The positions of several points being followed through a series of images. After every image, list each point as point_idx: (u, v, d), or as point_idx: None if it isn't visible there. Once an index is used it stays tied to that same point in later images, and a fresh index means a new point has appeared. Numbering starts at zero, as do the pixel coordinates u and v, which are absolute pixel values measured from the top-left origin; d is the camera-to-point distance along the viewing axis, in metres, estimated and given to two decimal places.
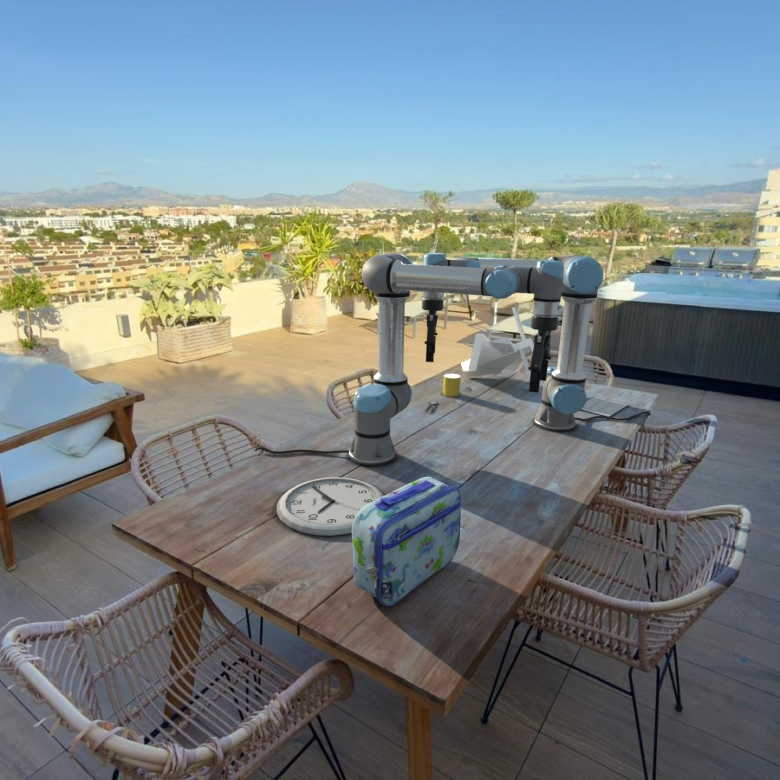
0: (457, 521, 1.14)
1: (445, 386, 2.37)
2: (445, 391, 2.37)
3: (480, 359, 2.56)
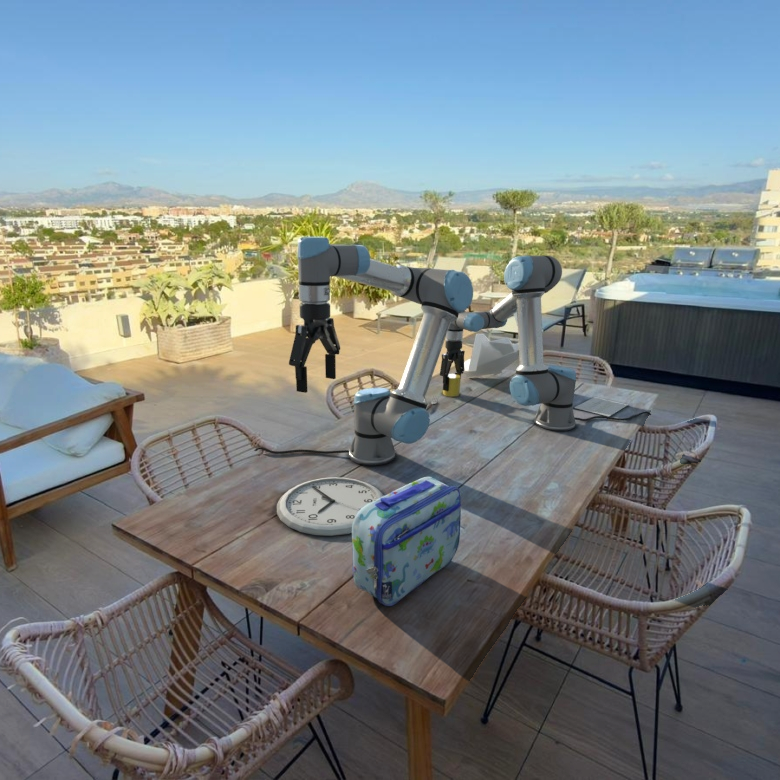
0: (457, 521, 1.14)
1: None
2: (445, 391, 2.37)
3: (480, 359, 2.56)
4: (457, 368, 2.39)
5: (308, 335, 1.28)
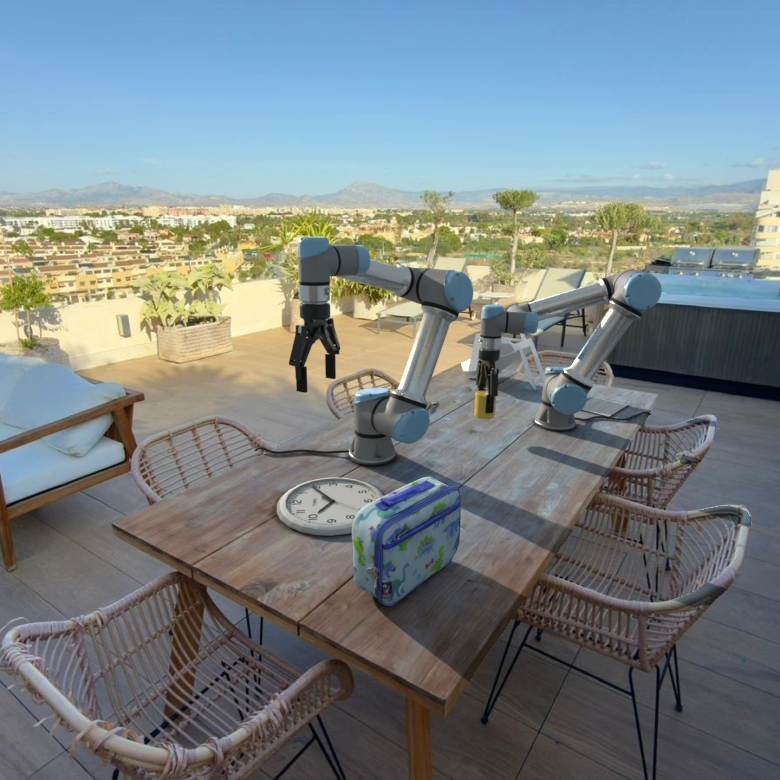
0: (457, 521, 1.14)
1: None
2: (487, 414, 1.90)
3: None
4: (482, 383, 1.94)
5: (308, 335, 1.28)
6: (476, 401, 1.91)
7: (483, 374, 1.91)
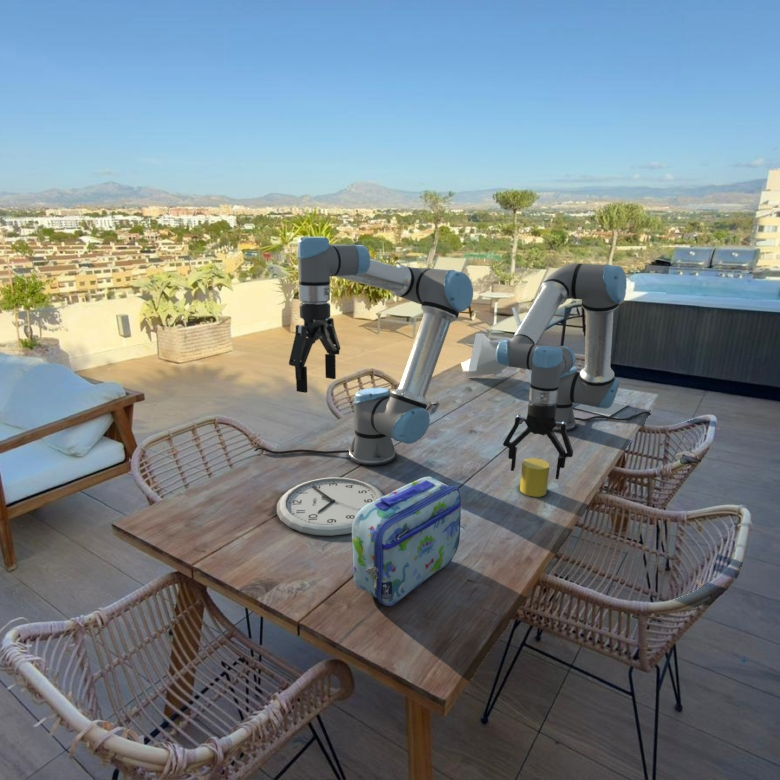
0: (457, 521, 1.14)
1: (547, 480, 1.50)
2: (546, 487, 1.51)
3: (480, 359, 2.56)
4: None
5: (308, 335, 1.28)
6: (535, 477, 1.48)
7: (527, 434, 1.48)
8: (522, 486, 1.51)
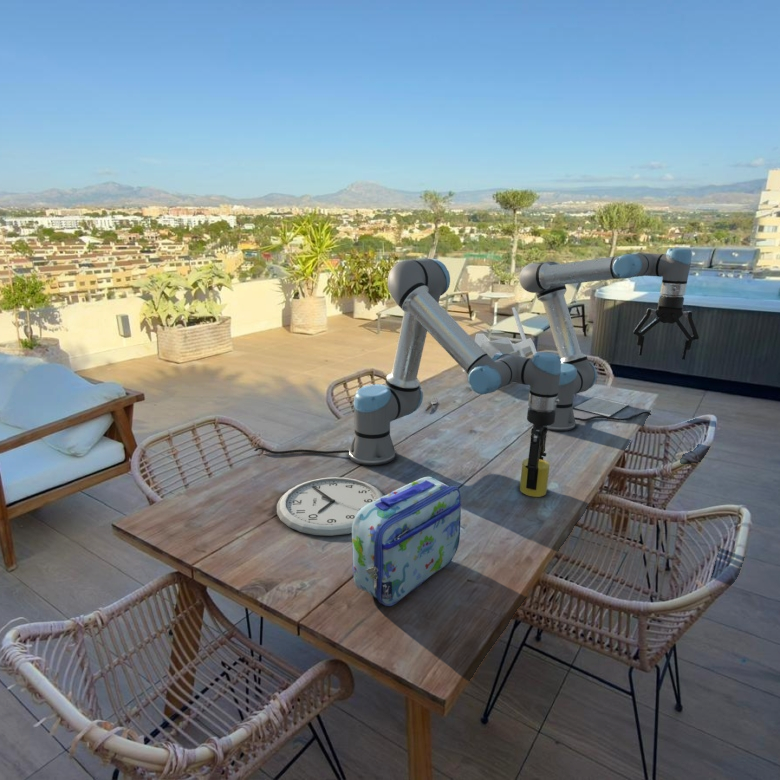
0: (457, 521, 1.14)
1: (547, 480, 1.50)
2: (546, 487, 1.51)
3: None
4: None
5: None
6: None
7: (656, 323, 1.81)
8: (522, 486, 1.51)
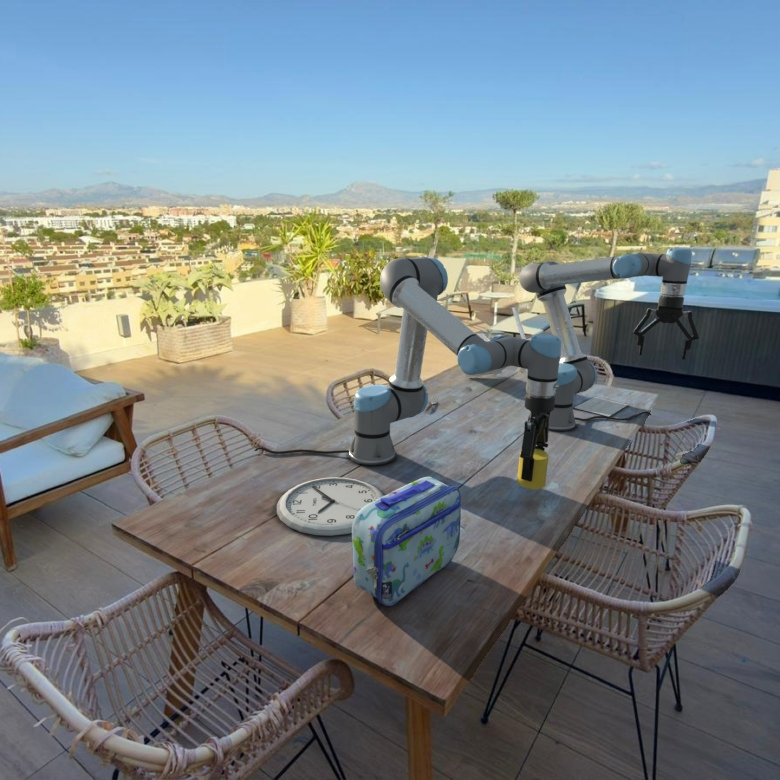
0: (457, 521, 1.14)
1: (545, 472, 1.40)
2: (544, 480, 1.41)
3: None
4: None
5: None
6: None
7: (656, 323, 1.81)
8: (518, 477, 1.42)
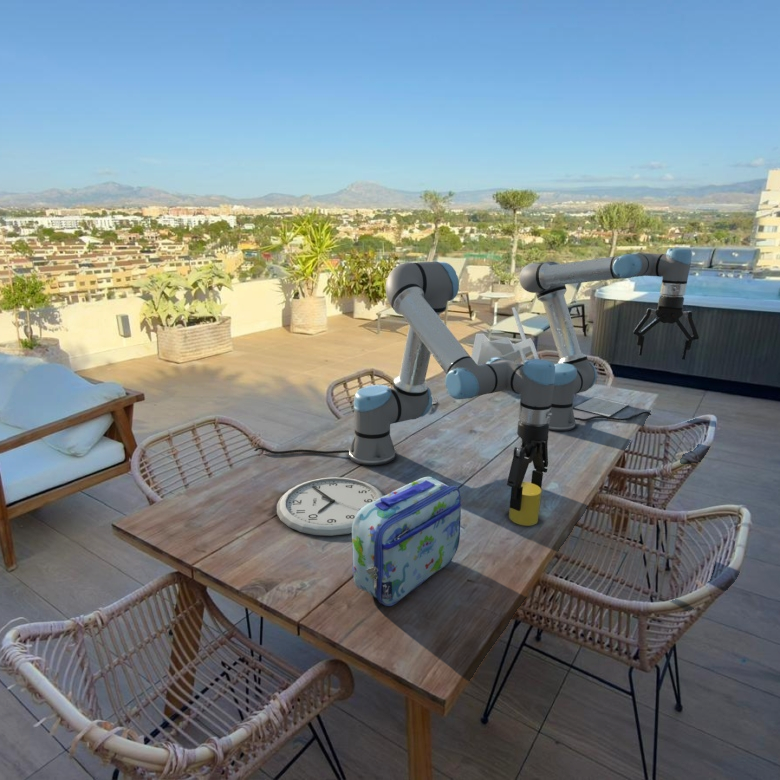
0: (457, 521, 1.14)
1: (537, 509, 1.34)
2: (536, 517, 1.35)
3: (480, 359, 2.56)
4: None
5: (524, 454, 1.31)
6: (521, 504, 1.33)
7: (656, 323, 1.81)
8: (510, 511, 1.38)
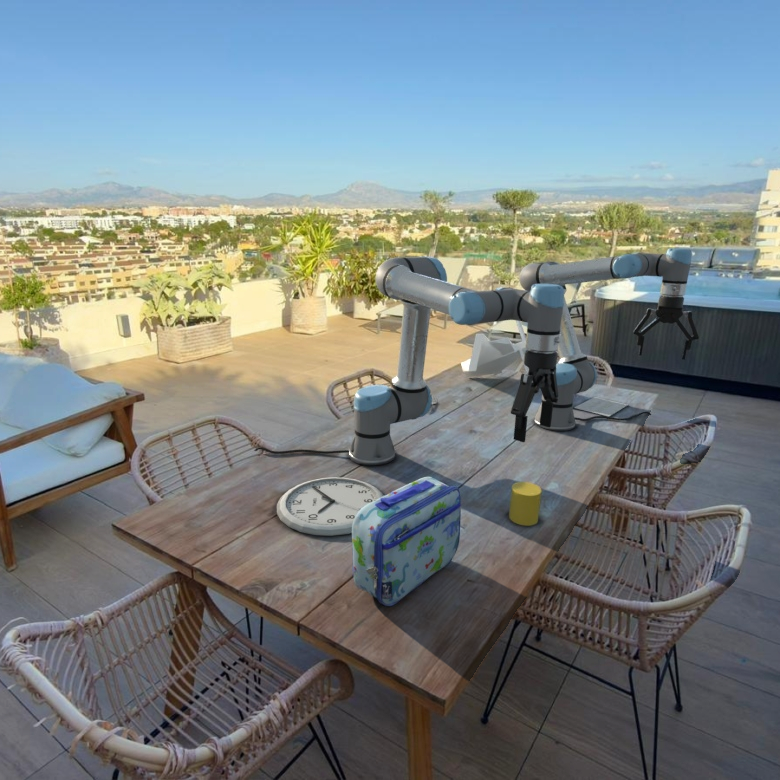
0: (457, 521, 1.14)
1: (537, 509, 1.34)
2: (536, 517, 1.35)
3: (480, 359, 2.56)
4: None
5: (531, 384, 1.25)
6: (521, 504, 1.33)
7: (656, 323, 1.81)
8: (510, 511, 1.38)
